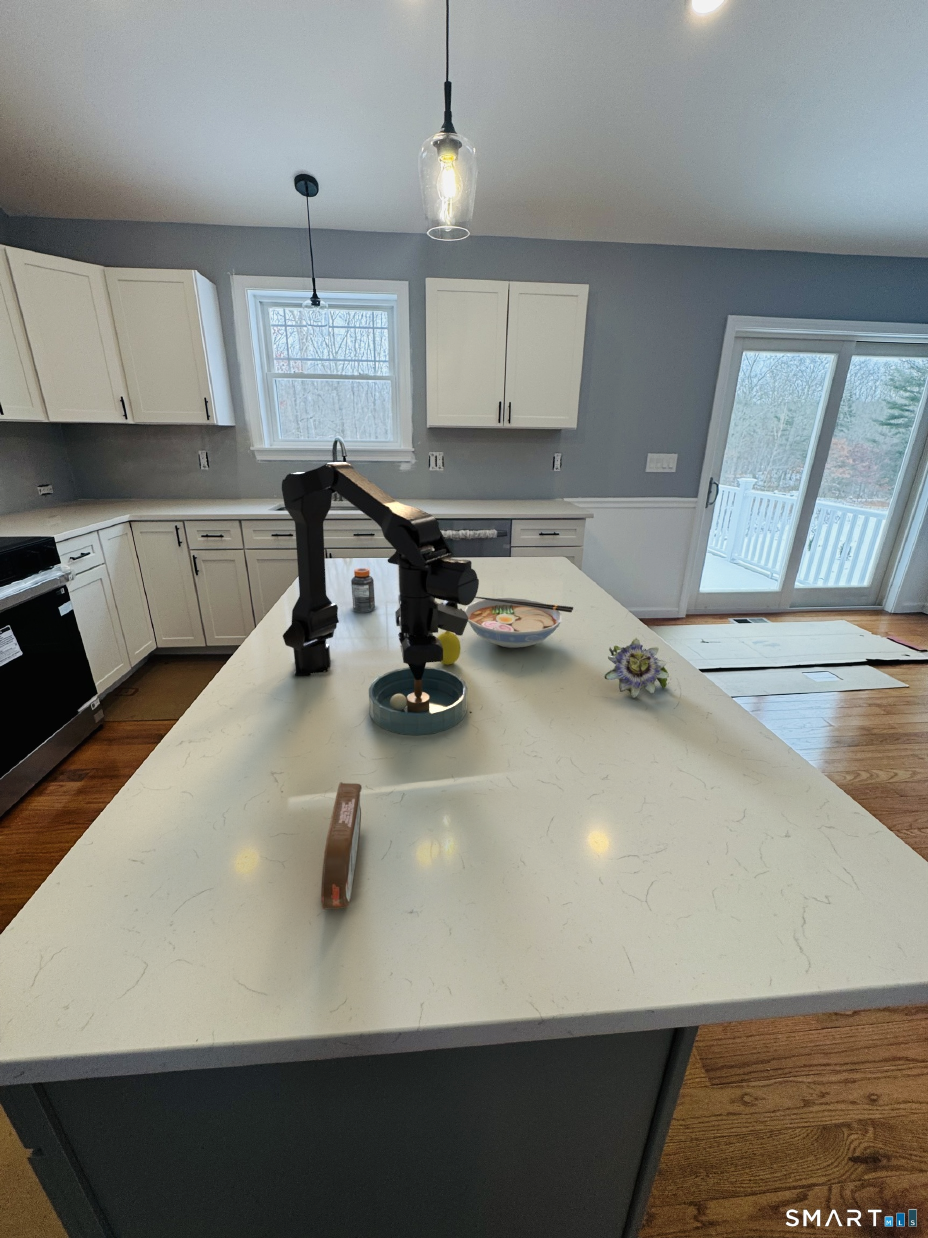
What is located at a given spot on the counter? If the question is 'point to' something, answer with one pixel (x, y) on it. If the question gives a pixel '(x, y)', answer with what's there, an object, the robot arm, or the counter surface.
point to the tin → (341, 847)
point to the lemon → (449, 647)
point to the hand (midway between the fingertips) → (417, 677)
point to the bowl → (436, 682)
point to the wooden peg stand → (418, 699)
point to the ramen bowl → (514, 620)
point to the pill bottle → (363, 590)
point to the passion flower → (637, 668)
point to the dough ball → (398, 702)
